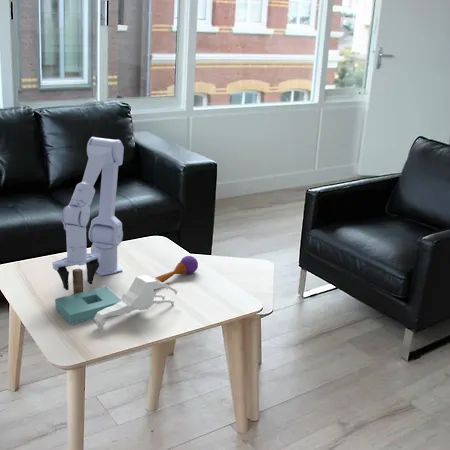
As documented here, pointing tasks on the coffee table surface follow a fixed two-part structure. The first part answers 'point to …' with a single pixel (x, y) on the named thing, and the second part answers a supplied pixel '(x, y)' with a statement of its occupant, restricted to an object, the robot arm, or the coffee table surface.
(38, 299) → the coffee table surface
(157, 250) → the coffee table surface
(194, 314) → the coffee table surface
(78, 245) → the robot arm
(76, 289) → the peg
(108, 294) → the socket board
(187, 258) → the purple ball maraca
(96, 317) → the horse figurine
